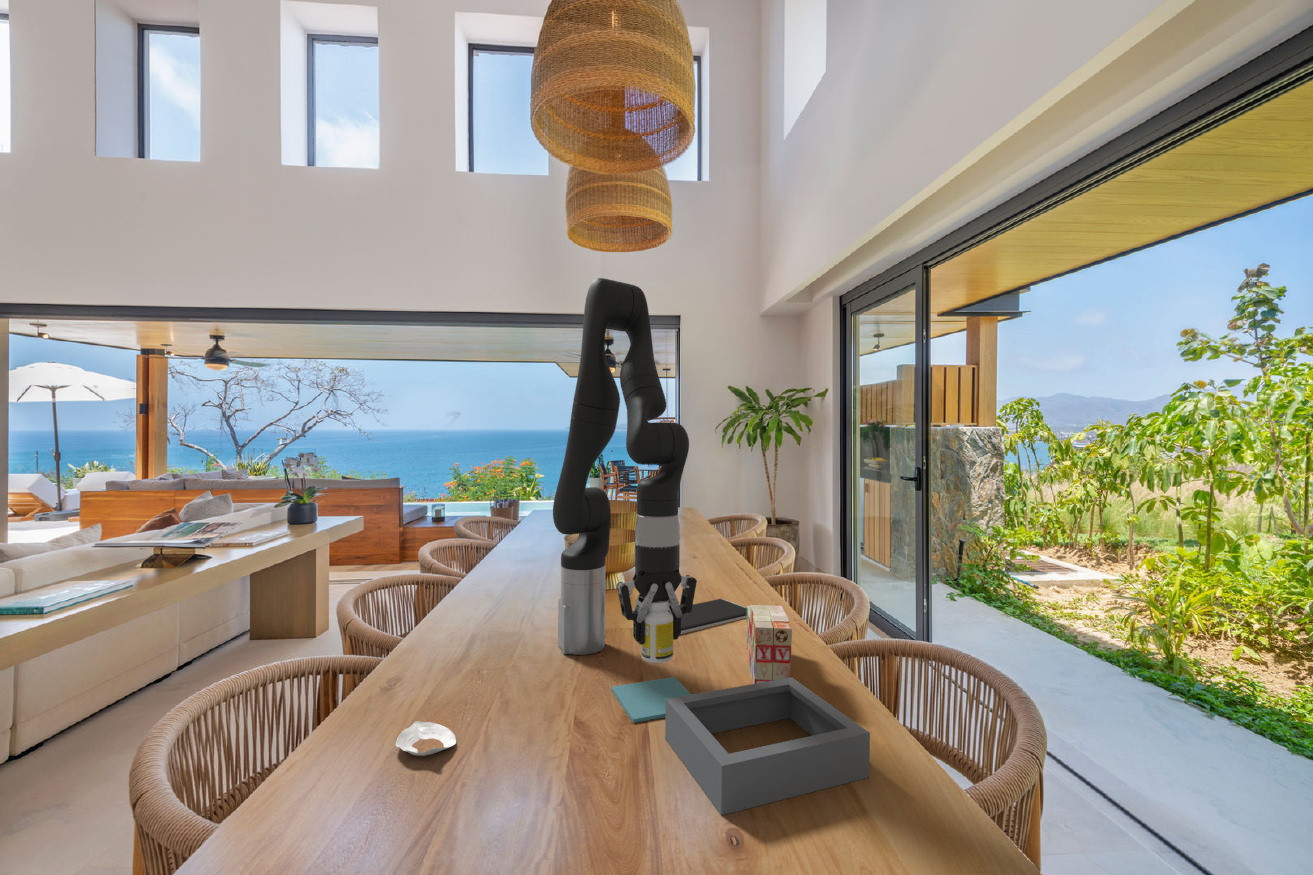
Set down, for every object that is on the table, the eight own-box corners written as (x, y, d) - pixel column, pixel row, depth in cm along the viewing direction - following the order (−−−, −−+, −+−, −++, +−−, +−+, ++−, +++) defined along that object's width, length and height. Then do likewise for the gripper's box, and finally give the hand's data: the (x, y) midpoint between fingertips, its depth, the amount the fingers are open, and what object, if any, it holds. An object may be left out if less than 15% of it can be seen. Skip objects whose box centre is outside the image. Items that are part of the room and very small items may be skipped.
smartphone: (758, 617, 144) (758, 610, 144) (670, 639, 128) (670, 631, 128) (721, 604, 154) (722, 597, 154) (636, 622, 139) (637, 614, 139)
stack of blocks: (745, 649, 122) (746, 590, 122) (776, 650, 121) (777, 591, 121) (754, 696, 101) (755, 625, 100) (791, 698, 100) (792, 627, 100)
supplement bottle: (677, 653, 100) (677, 597, 100) (667, 665, 95) (667, 606, 95) (647, 649, 102) (647, 594, 102) (636, 661, 97) (636, 602, 97)
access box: (721, 815, 70) (721, 765, 69) (665, 738, 86) (665, 698, 86) (869, 777, 77) (869, 732, 77) (791, 713, 94) (792, 677, 94)
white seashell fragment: (404, 773, 77) (405, 753, 77) (387, 739, 87) (388, 721, 87) (464, 759, 81) (465, 740, 81) (441, 727, 91) (442, 710, 91)
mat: (633, 722, 91) (633, 719, 91) (611, 690, 102) (611, 686, 102) (702, 710, 95) (702, 706, 95) (674, 679, 106) (674, 676, 106)
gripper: (687, 534, 104) (686, 628, 105) (610, 539, 99) (609, 638, 99) (705, 542, 97) (705, 642, 98) (623, 548, 92) (623, 654, 92)
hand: (657, 640), depth 98 cm, fingers closed on supplement bottle, 5 cm apart
